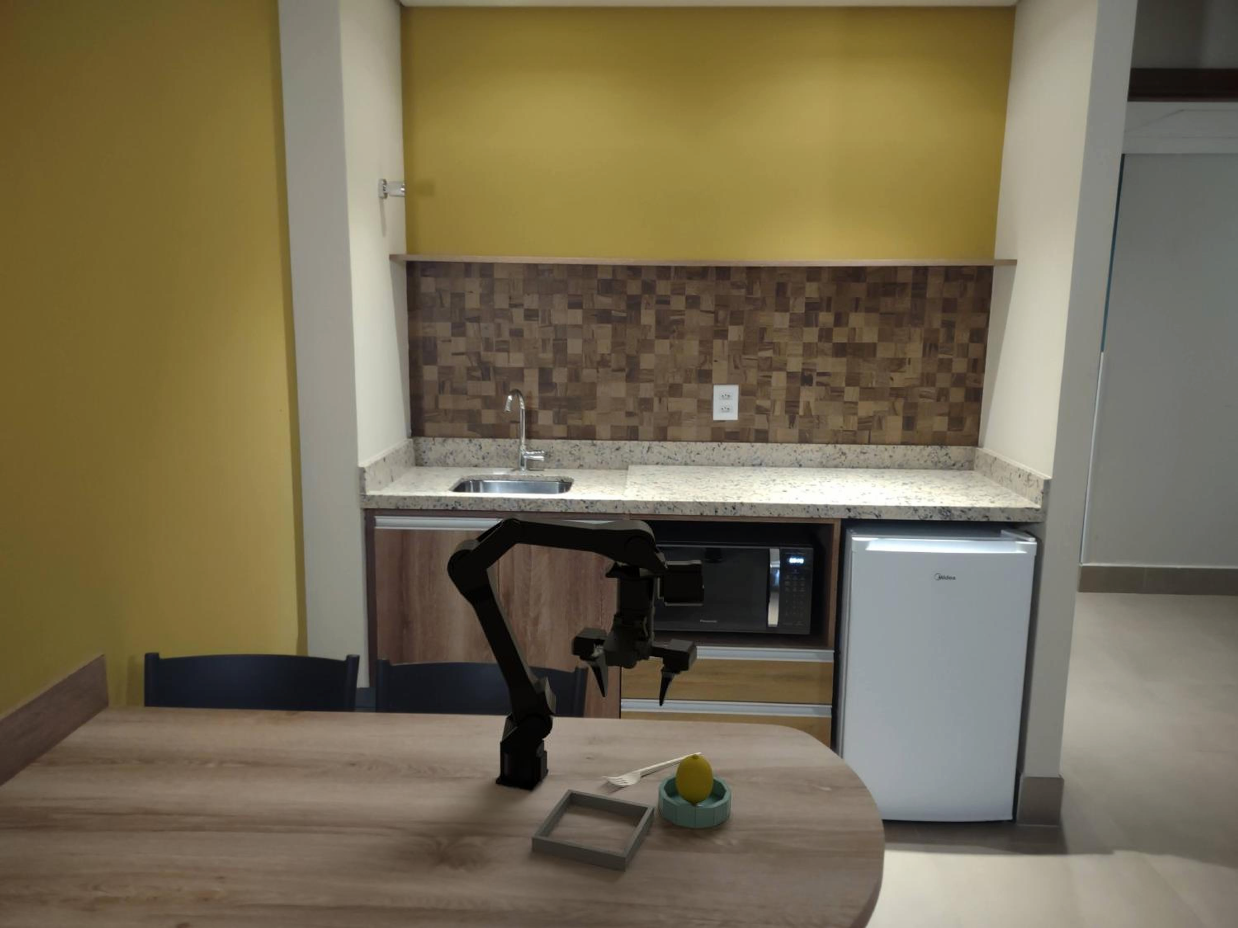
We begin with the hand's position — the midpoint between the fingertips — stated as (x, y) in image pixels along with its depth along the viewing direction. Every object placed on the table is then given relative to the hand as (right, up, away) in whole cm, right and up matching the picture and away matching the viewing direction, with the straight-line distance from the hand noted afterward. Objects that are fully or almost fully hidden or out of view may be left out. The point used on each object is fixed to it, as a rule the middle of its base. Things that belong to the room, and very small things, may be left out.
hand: (632, 700), depth 143 cm
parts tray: (-6, -15, -13) cm, 21 cm away
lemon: (+9, -14, -6) cm, 18 cm away
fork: (+4, -13, +5) cm, 15 cm away
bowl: (+9, -14, -6) cm, 18 cm away
